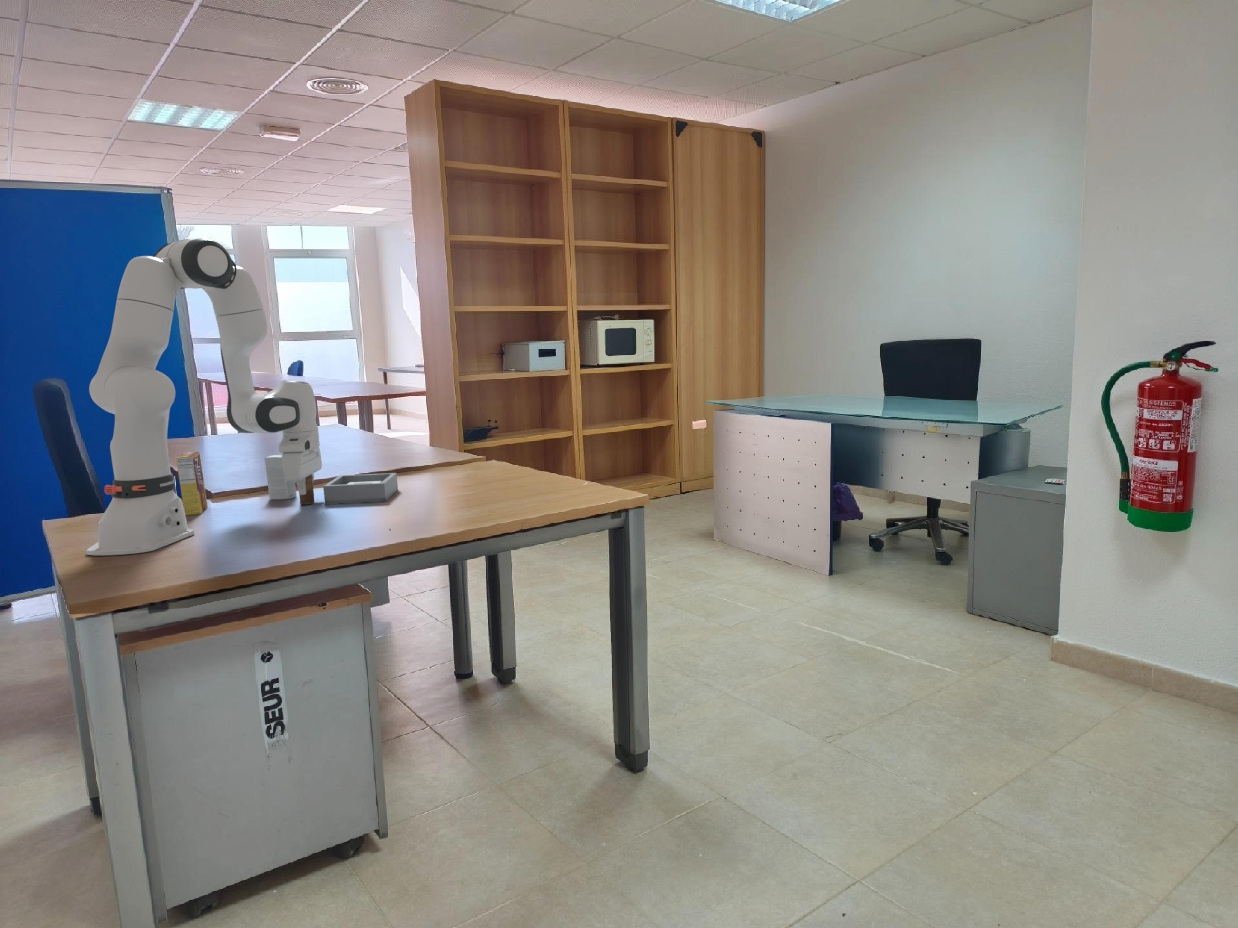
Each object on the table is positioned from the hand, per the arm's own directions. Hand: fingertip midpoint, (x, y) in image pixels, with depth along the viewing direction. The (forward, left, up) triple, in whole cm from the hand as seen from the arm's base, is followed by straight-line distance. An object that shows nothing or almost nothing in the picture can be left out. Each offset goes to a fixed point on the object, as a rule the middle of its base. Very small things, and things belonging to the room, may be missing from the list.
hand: (306, 492), depth 213 cm
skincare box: (+10, +10, -3) cm, 15 cm away
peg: (0, 0, -3) cm, 3 cm away
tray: (+6, -13, -3) cm, 15 cm away
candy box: (-3, +28, -3) cm, 28 cm away
